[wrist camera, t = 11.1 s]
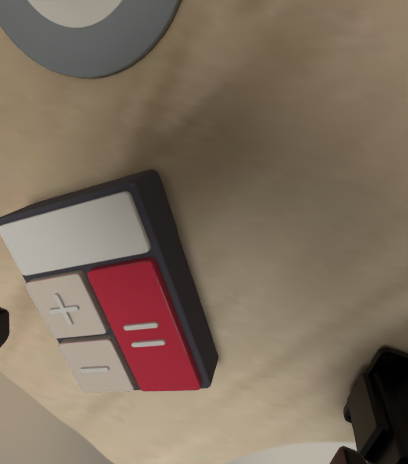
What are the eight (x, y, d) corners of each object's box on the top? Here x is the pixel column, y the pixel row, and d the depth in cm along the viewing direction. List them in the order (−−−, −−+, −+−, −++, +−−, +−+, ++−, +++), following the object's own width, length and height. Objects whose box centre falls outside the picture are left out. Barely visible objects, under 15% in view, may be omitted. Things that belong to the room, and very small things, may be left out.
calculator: (78, 400, 24) (-19, 224, 20) (107, 359, 28) (30, 203, 24) (209, 398, 21) (127, 183, 16) (222, 352, 25) (158, 166, 20)
